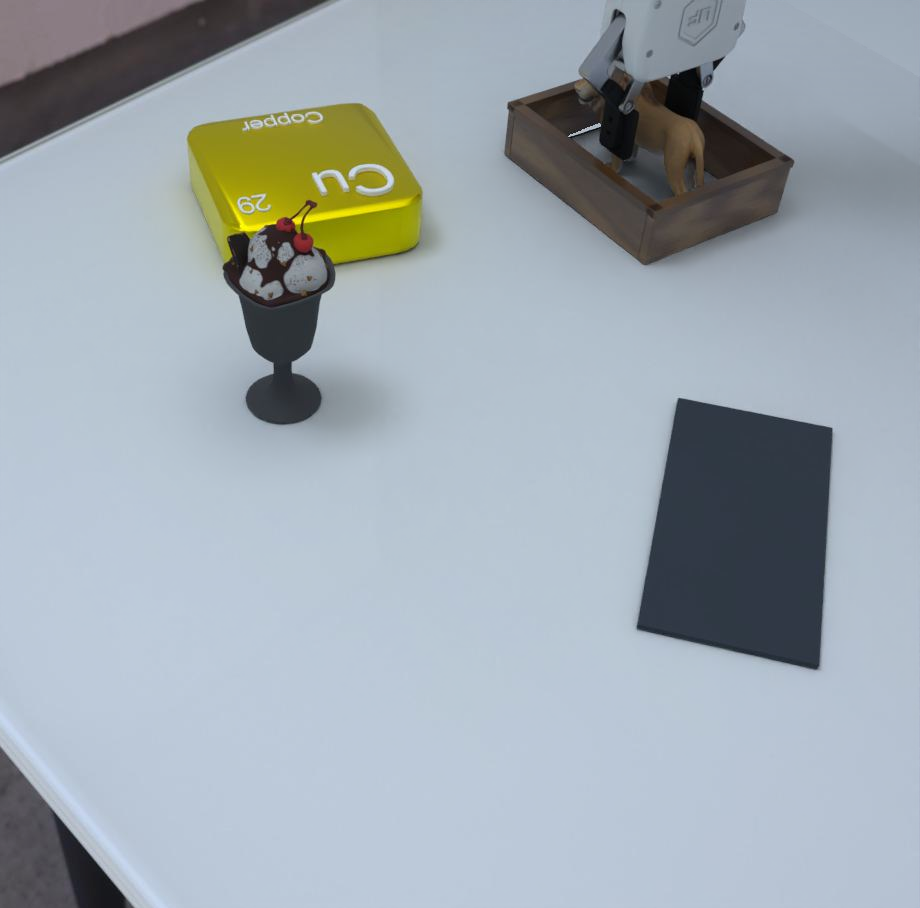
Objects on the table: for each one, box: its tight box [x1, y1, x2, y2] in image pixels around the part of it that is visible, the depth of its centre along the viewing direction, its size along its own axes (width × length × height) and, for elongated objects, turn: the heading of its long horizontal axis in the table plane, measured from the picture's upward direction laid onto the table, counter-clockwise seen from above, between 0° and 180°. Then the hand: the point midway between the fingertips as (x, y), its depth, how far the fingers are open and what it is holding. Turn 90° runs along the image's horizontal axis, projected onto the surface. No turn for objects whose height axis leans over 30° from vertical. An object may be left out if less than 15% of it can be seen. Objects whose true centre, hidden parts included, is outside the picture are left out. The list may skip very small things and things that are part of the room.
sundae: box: [221, 200, 336, 425], centre depth 80 cm, size 7×7×15 cm
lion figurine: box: [574, 66, 705, 196], centre depth 101 cm, size 15×5×9 cm, turn 43°
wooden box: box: [503, 76, 795, 266], centre depth 103 cm, size 14×18×5 cm
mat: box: [636, 397, 834, 670], centre depth 79 cm, size 20×10×1 cm, turn 165°
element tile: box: [186, 102, 423, 265], centre depth 99 cm, size 15×15×5 cm
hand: (646, 138), depth 101 cm, fingers open, 5 cm apart
